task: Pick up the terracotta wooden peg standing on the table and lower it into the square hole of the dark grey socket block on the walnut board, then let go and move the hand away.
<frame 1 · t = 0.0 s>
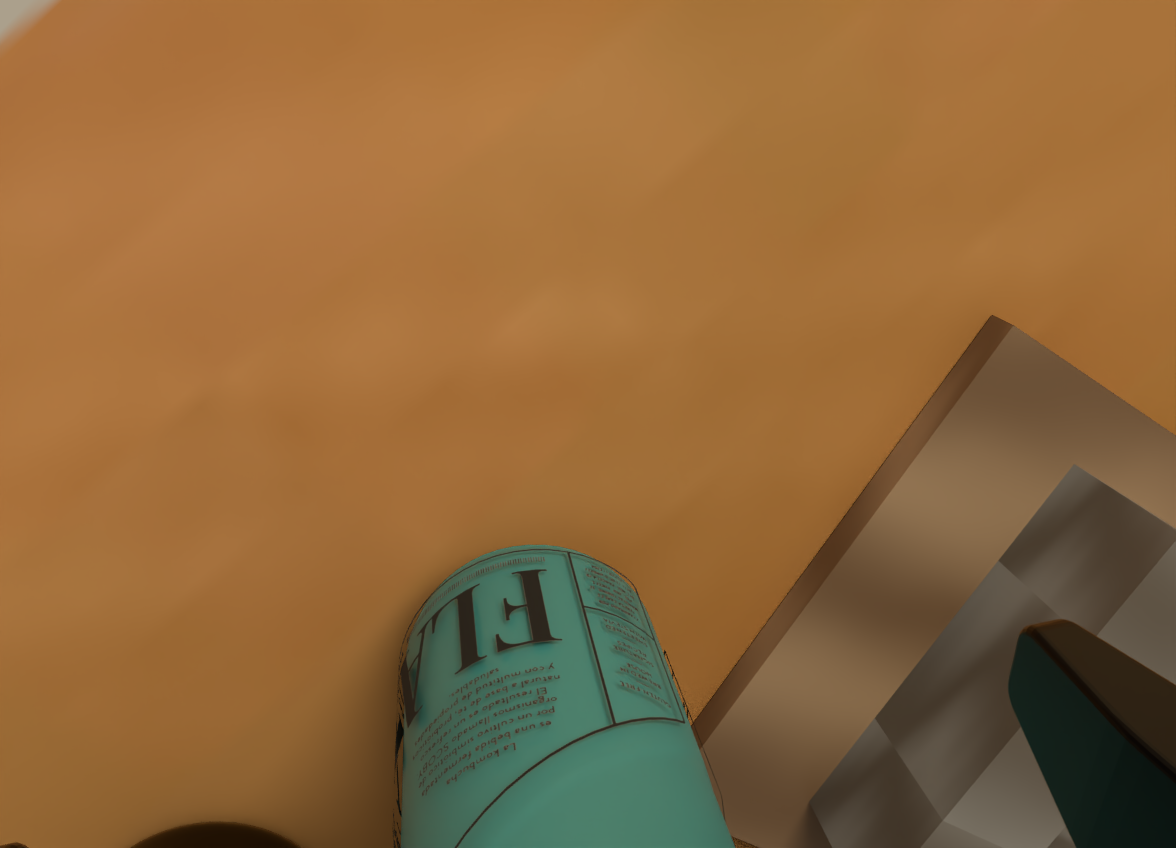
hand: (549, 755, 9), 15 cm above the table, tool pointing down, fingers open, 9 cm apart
socket board: (1064, 698, 30), on the table
beverage bottle: (525, 616, 27), on the table
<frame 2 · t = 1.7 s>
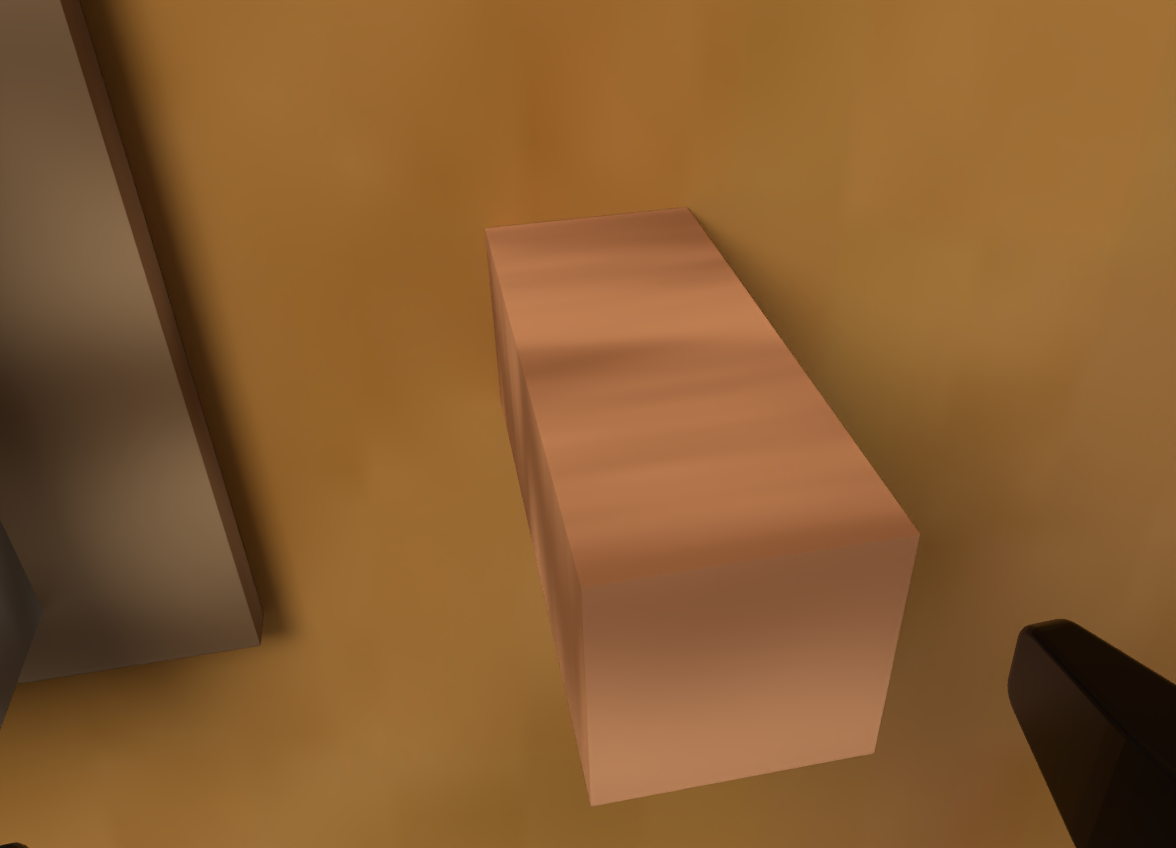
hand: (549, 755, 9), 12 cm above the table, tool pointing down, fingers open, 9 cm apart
peg: (590, 309, 21), on the table
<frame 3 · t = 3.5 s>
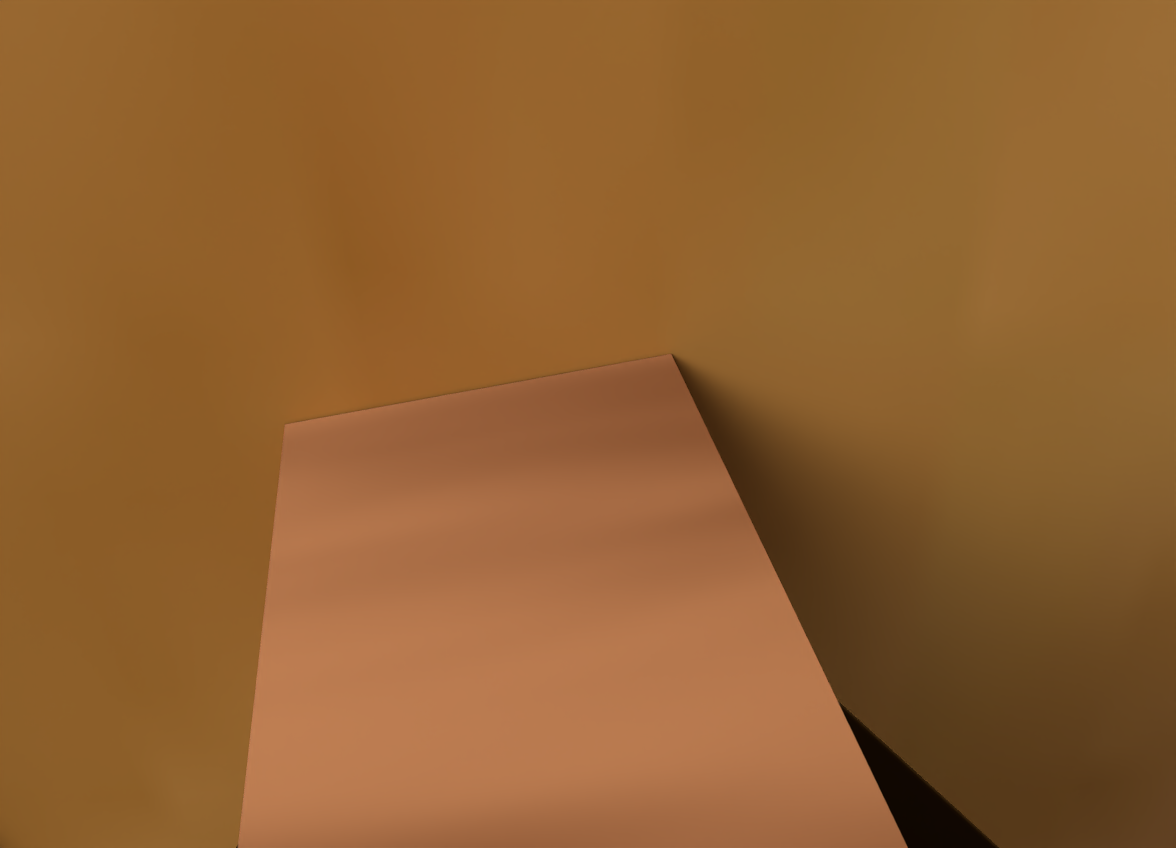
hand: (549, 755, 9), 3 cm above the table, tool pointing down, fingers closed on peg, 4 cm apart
peg: (509, 532, 11), on the table, touching gripper
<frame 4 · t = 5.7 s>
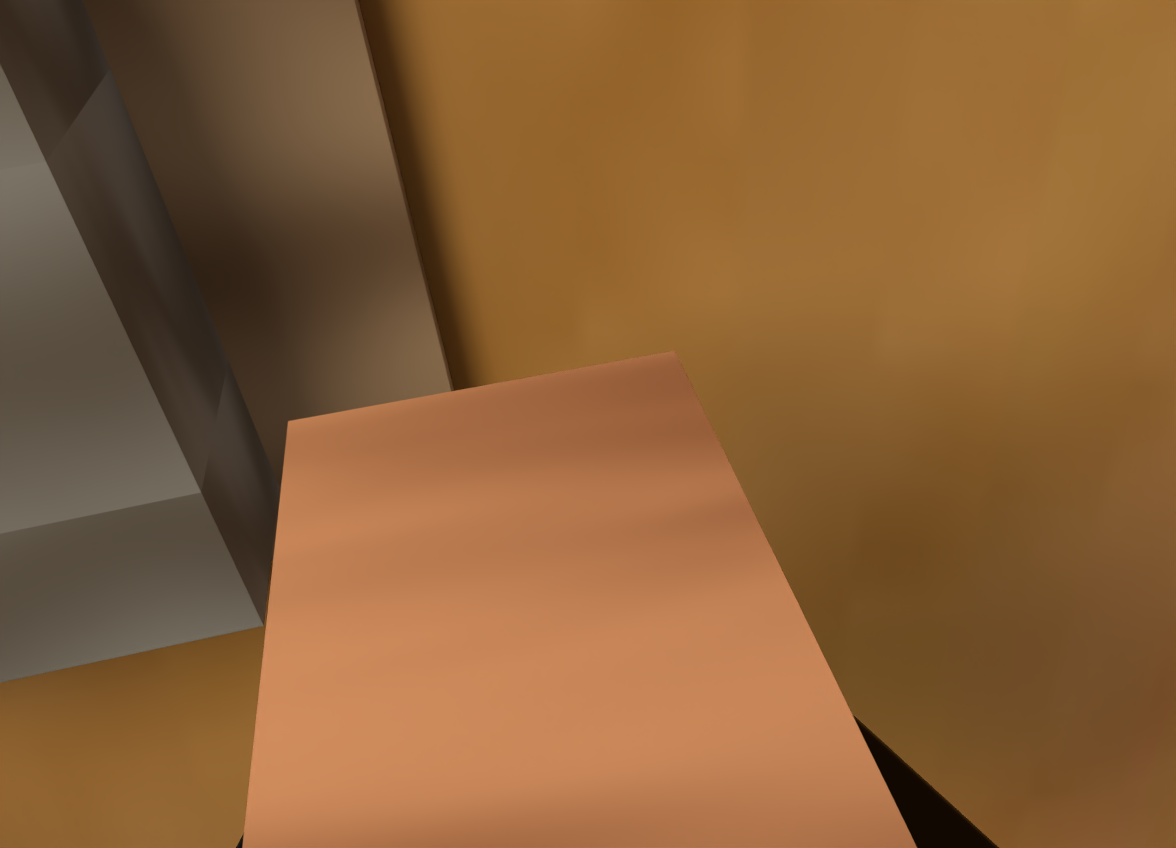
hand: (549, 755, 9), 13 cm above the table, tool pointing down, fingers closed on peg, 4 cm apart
peg: (512, 529, 11), point 10 cm above the table, touching gripper
when the fingers open (6 cm above the table, at t = 8.2 s): peg drops 2 cm, resting on socket board.
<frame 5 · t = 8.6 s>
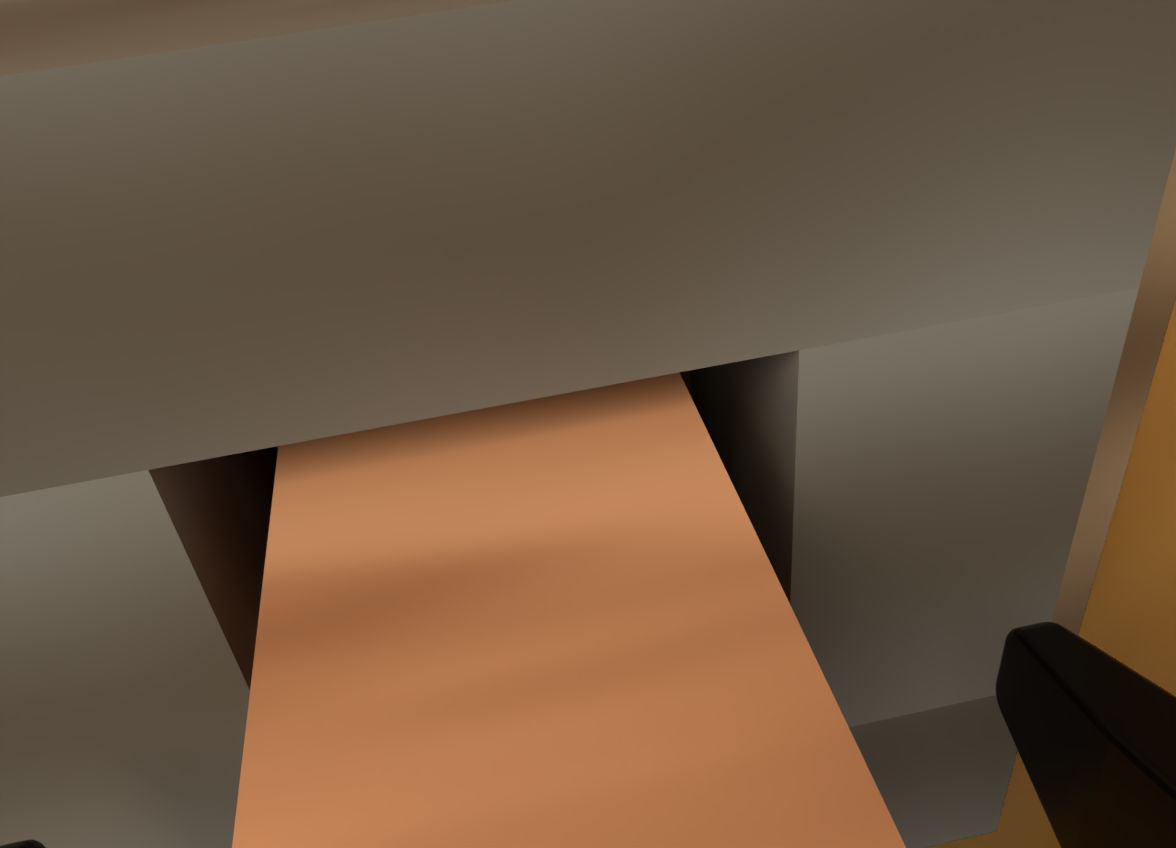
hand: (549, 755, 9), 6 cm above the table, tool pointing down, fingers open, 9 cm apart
socket board: (480, 370, 14), on the table
peg: (486, 409, 13), point 1 cm above the table, touching socket board
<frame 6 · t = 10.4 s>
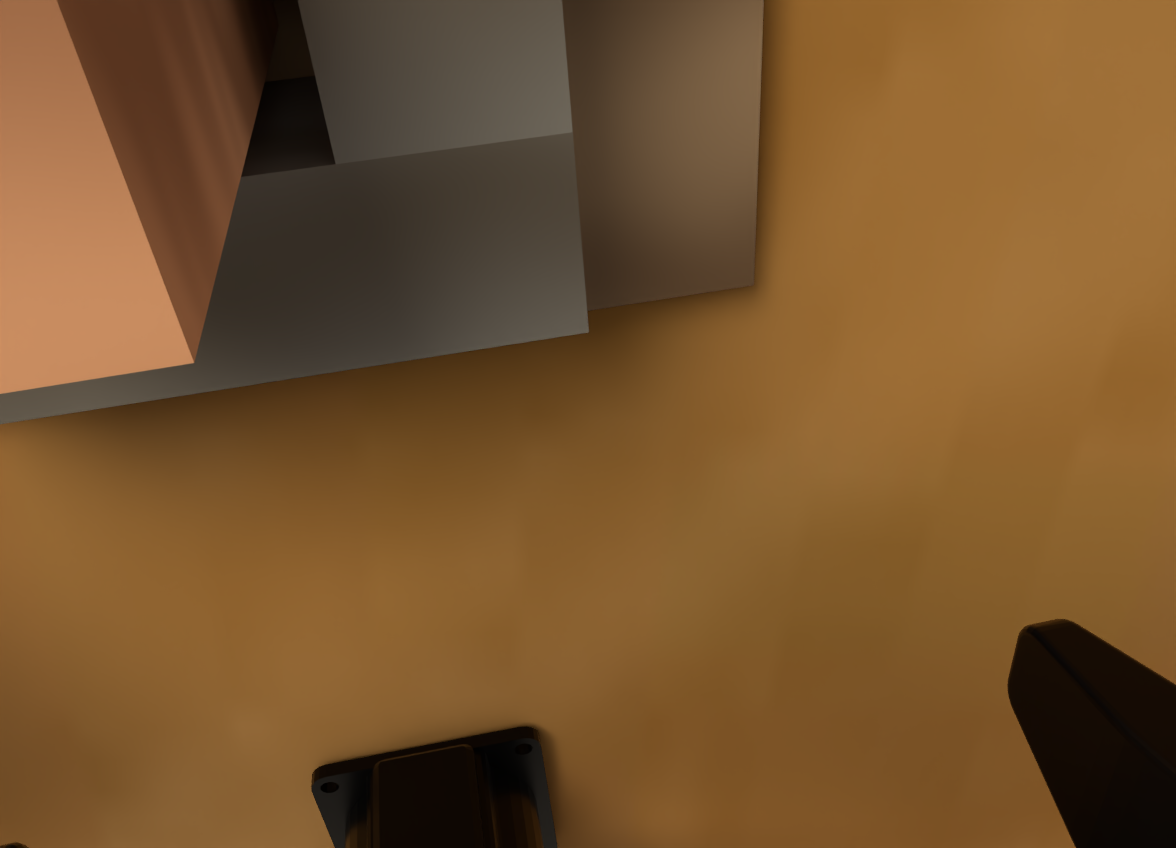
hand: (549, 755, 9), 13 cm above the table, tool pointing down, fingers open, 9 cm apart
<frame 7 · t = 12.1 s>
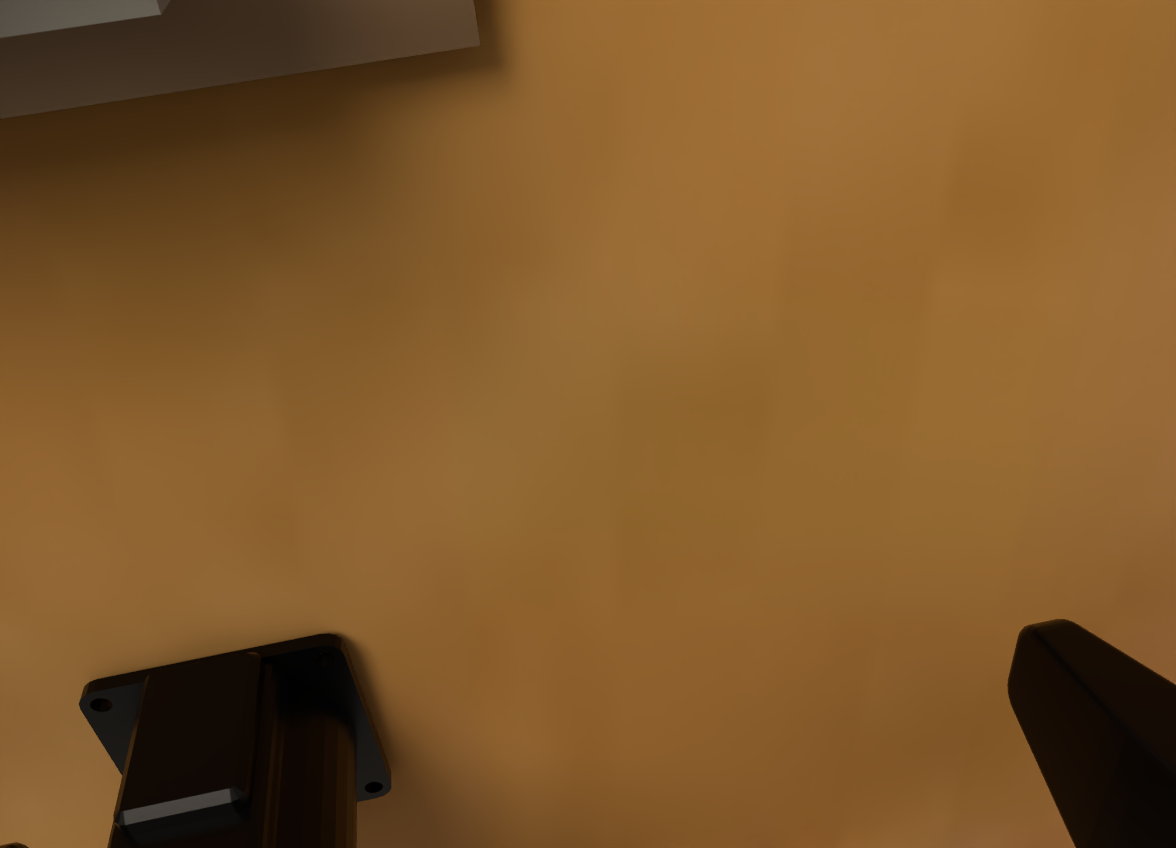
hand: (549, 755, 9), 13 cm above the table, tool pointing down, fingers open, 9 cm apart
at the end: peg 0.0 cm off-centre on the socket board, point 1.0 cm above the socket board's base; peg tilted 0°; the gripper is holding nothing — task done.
